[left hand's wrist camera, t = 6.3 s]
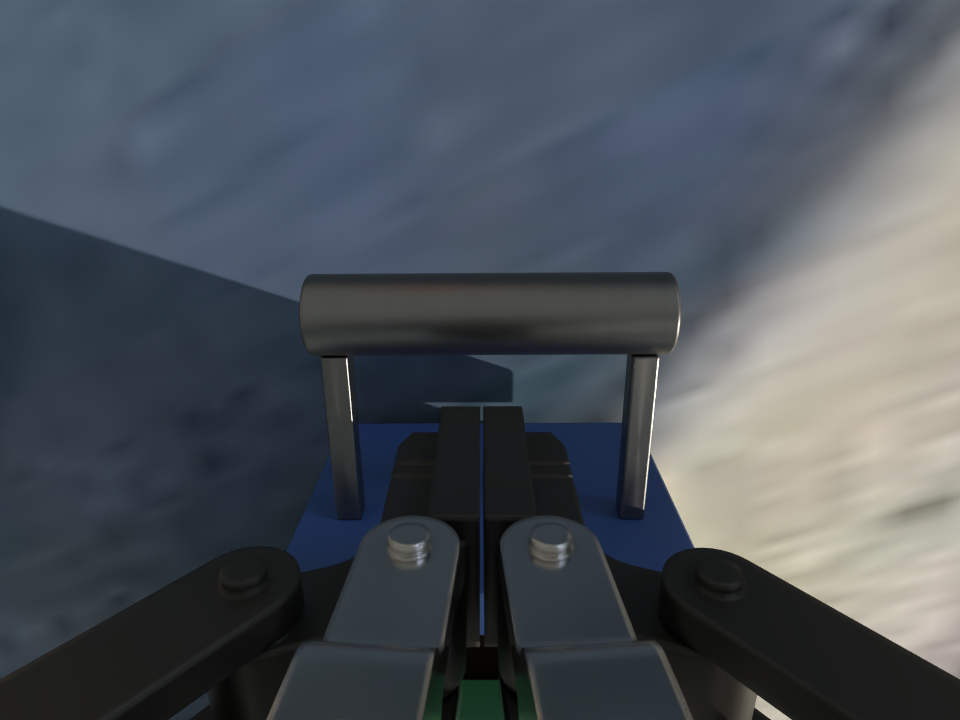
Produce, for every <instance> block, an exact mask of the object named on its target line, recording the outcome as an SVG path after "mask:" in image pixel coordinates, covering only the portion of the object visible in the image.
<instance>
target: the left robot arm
mask: <svg viewBox="0 0 960 720" xmlns="http://www.w3.org/2000/svg"><path fill="white" fill-rule="evenodd" d="M483 544H484V647H498V664H499V671H498V698H499V706H500V714H501V720H770V719H769V718H768V717H766V716H765V715H764V714H762V713H761V712H760V711H758V710H757V709H756V708H754V707H755V702H756V697H757V695H758V696H760V697H761V698H763V699H764V700H765V701H767V702H768V703H770V704H771V705H772V706H774V707H775V708H776V709H778V710H779V711H781V712H782V713H783V714H785V715H786V716H788V717H789V718H790V719H792V720H960V679H958V678H956V677H954V676H953V675H951V674H949V673H947V672H946V671H944V670H942V669H940V668H938V667H937V666H935V665H933V664H931V663H930V662H928V661H926V660H924V659H922V658H921V657H919V656H917V655H915V654H914V653H912V652H910V651H908V650H907V649H905V648H903V647H901V646H899V645H898V644H896V643H894V642H892V641H891V640H889V639H887V638H885V637H883V636H882V635H880V634H878V633H876V632H875V631H873V630H871V629H869V628H867V627H866V626H864V625H862V624H860V623H859V622H857V621H855V620H853V619H851V618H850V617H848V616H846V615H844V614H843V613H841V612H839V611H837V610H835V609H834V608H832V607H830V606H828V605H827V604H825V603H823V602H821V601H819V600H818V599H816V598H814V597H812V596H811V595H809V594H807V593H805V592H803V591H802V590H800V589H798V588H796V587H795V586H793V585H791V584H789V583H787V582H786V581H784V580H782V579H780V578H779V577H777V576H775V575H773V574H771V573H770V572H768V571H766V570H764V569H763V568H761V567H759V566H757V565H755V564H754V563H752V562H750V561H748V560H746V559H744V558H742V557H740V556H738V555H735V554H733V553H730V552H726V551H723V550H718V549H712V548H692V549H686V550H683V551H679V552H677V553H675V554H673V555H672V556H671V557H670V558H668V560H667V561H666V562H665V564H664V566H663V570H662V572H660V571H655V570H651V569H646V568H642V567H637V566H634V565H630V564H626V563H624V562H621V561H618V560H616V559H614V558H612V557H610V556H609V555H607V554H605V553H604V552H603V550H602V547H601V545H600V542H599V540H598V539H597V537H596V536H595V535H594V533H593V532H592V531H591V530H589V529H588V528H587V527H585V525H584V521H583V517H582V513H581V509H580V505H579V501H578V497H577V492H576V488H575V484H574V480H573V479H572V472H571V468H570V465H569V460H568V456H567V452H566V448H565V445H563V444H562V443H561V442H560V441H559V440H558V439H557V438H556V437H555V436H554V435H553V434H552V433H551V432H525V426H524V419H523V411H522V406H483ZM466 647H480V407H441V415H440V423H439V431H438V432H413V433H412V434H411V435H410V436H409V437H407V438H406V439H405V440H404V441H403V442H402V443H401V444H400V445H399V446H398V450H397V454H396V458H395V466H394V467H393V471H392V475H391V480H390V484H389V488H388V492H387V497H386V501H385V505H384V509H383V514H382V518H381V522H380V524H378V525H376V526H375V527H373V528H372V529H371V530H369V531H368V532H367V533H366V535H365V536H364V537H363V539H362V540H361V542H360V545H359V547H358V550H357V553H356V555H355V557H353V558H351V559H349V560H347V561H344V562H342V563H339V564H336V565H332V566H328V567H324V568H320V569H315V570H311V571H306V572H302V573H300V567H299V564H298V562H297V560H296V559H295V558H294V557H293V556H292V555H291V554H290V553H288V552H286V551H284V550H281V549H278V548H273V547H262V546H258V547H248V548H242V549H238V550H235V551H231V552H229V553H226V554H223V555H221V556H219V557H217V558H215V559H213V560H212V561H210V562H208V563H206V564H205V565H203V566H201V567H199V568H197V569H196V570H194V571H192V572H190V573H189V574H187V575H185V576H183V577H181V578H180V579H178V580H176V581H174V582H173V583H171V584H169V585H167V586H165V587H164V588H162V589H160V590H158V591H157V592H155V593H153V594H151V595H149V596H148V597H146V598H144V599H142V600H141V601H139V602H137V603H135V604H133V605H132V606H130V607H128V608H126V609H125V610H123V611H121V612H119V613H117V614H116V615H114V616H112V617H110V618H109V619H107V620H105V621H103V622H101V623H100V624H98V625H96V626H94V627H93V628H91V629H89V630H87V631H85V632H84V633H82V634H80V635H78V636H77V637H75V638H73V639H71V640H70V641H68V642H66V643H64V644H62V645H61V646H59V647H57V648H55V649H54V650H52V651H50V652H48V653H46V654H45V655H43V656H41V657H39V658H38V659H36V660H34V661H32V662H30V663H29V664H27V665H25V666H23V667H22V668H20V669H18V670H16V671H14V672H13V673H11V674H9V675H7V676H6V677H4V678H2V679H0V720H168V719H170V718H171V717H172V716H174V715H175V714H177V713H178V712H179V711H181V710H182V709H184V708H185V707H186V706H188V705H189V704H191V703H192V702H193V701H195V700H196V699H197V698H199V697H200V696H202V695H203V694H204V693H206V692H208V697H209V702H210V705H209V706H207V707H206V708H204V709H203V710H202V711H200V712H199V713H198V714H196V715H195V716H194V717H192V718H191V719H190V720H459V714H460V706H461V698H462V679H463V677H464V674H465V670H466Z"/></svg>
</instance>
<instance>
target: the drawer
mask: <svg viewBox="0 0 960 720" xmlns="http://www.w3.org/2000/svg"><path fill="white" fill-rule="evenodd" d="M299 319H300V330H301V335H302V340H303V343H304V346H305V348H306V350H307V352H308V353H309V354H311V355H314V356H322V357H321V359H320V360H321V370H322V379H323V389H324V398H325V408H326V417H327V427H328V436H329V446H330V455H329V457H328V459H327V461H326V464H325V466H324V468H323V470H322V473H321V475H320V477H319V479H318V482H317V484H316V486H315V488H314V491H313V493H312V495H311V497H310V500H309V502H308V504H307V506H306V508H305V511H304V513H303V515H302V517H301V520H300V522H299V524H298V526H297V529H296V531H295V533H294V535H293V538H292V540H291V542H290V544H289V547H288V549H287V551H286V552H288V553H290V554H291V555H292V556H293V557H294V558H295V559H296V560H297V562H298V564H299V567H300V573H302V572H306V571H311V570H315V569H320V568H324V567H328V566H332V565H336V564H339V563H342V562H344V561H347V560H349V559H351V558H353V557H355V555H356V553H357V550H358V547H359V545H360V542H361V540H362V539H363V537H364V536H365V535H366V533H367V532H368V531H369V530H371V529H372V528H373V527H375V526H376V525H378V524H380V522H381V518H382V514H383V509H384V505H385V501H386V497H387V492H388V488H389V484H390V480H391V475H392V471H393V467H394V466H395V458H396V454H397V450H398V446H399V445H400V444H401V443H402V442H403V441H404V440H405V439H406V438H407V437H409V436H410V435H411V434H412V433H413V432H438V431H439V423H378V424H358V414H357V402H356V390H355V378H354V367H353V355H561V354H628V355H627V367H626V380H625V392H624V405H623V418H622V423H524V426H525V432H551V433H552V434H553V435H554V436H555V437H556V438H557V439H558V440H559V441H560V442H561V443H562V444H563V445H565V448H566V452H567V456H568V460H569V465H570V468H571V472H572V479H573V480H574V484H575V488H576V492H577V497H578V501H579V505H580V509H581V513H582V517H583V521H584V525H585V527H587V528H588V529H589V530H591V531H592V532H593V533H594V535H595V536H596V537H597V539H598V540H599V542H600V545H601V547H602V550H603V552H604V553H605V554H607V555H609V556H610V557H612V558H614V559H616V560H618V561H621V562H624V563H626V564H630V565H634V566H637V567H642V568H646V569H651V570H655V571H660V572H662V570H663V566H664V564H665V562H666V561H667V560H668V558H670V557H671V556H672V555H673V554H675V553H677V552H679V551H683V550H686V549H692V548H694V546H693V544H692V541H691V539H690V537H689V535H688V533H687V531H686V529H685V526H684V524H683V522H682V520H681V518H680V516H679V514H678V511H677V509H676V507H675V505H674V503H673V501H672V499H671V496H670V494H669V492H668V490H667V488H666V486H665V483H664V481H663V479H662V477H661V475H660V473H659V471H658V468H657V466H656V464H655V462H654V460H653V458H652V456H651V453H650V450H651V440H652V430H653V419H654V409H655V399H656V389H657V379H658V369H659V359H660V358H659V356H658V354H668V353H670V352H672V351H673V350H674V348H675V346H676V343H677V340H678V336H679V331H680V324H681V299H680V291H679V287H678V283H677V280H676V278H675V276H674V275H673V274H671V273H669V272H593V273H422V274H311V275H309V276H307V277H306V278H305V280H304V283H303V286H302V290H301V295H300V305H299ZM498 671H499V664H498V647H484V544H483V423H480V647H466V670H465V674H464V677H463V679H462V680H498Z"/></svg>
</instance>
